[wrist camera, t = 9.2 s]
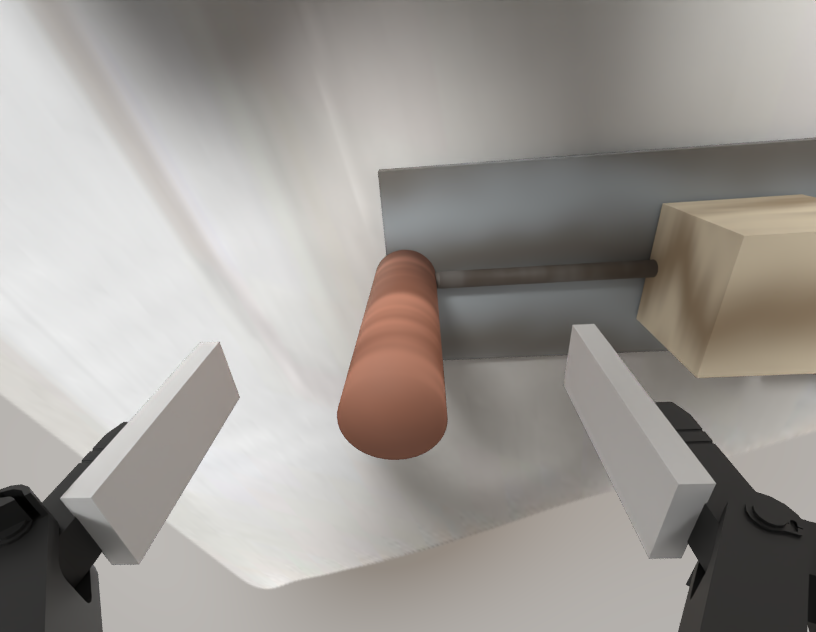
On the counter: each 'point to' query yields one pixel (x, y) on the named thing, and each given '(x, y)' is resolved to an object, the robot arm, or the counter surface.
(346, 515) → the counter surface
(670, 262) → the rod with end block
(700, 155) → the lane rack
